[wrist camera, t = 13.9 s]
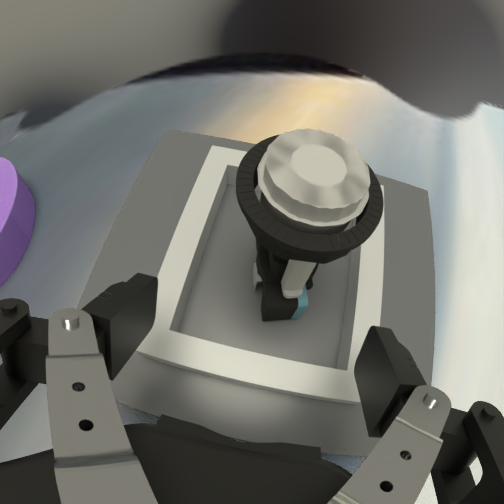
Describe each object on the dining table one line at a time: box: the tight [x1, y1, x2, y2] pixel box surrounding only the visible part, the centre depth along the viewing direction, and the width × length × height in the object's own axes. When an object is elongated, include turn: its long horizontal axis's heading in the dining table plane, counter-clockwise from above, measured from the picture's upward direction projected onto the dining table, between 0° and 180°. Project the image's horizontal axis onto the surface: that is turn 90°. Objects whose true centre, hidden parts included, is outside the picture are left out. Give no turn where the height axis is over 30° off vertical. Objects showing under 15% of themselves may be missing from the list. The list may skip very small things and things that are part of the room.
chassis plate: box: [77, 130, 435, 457], centre depth 19 cm, size 22×20×3 cm
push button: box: [236, 129, 384, 321], centre depth 15 cm, size 7×5×10 cm
